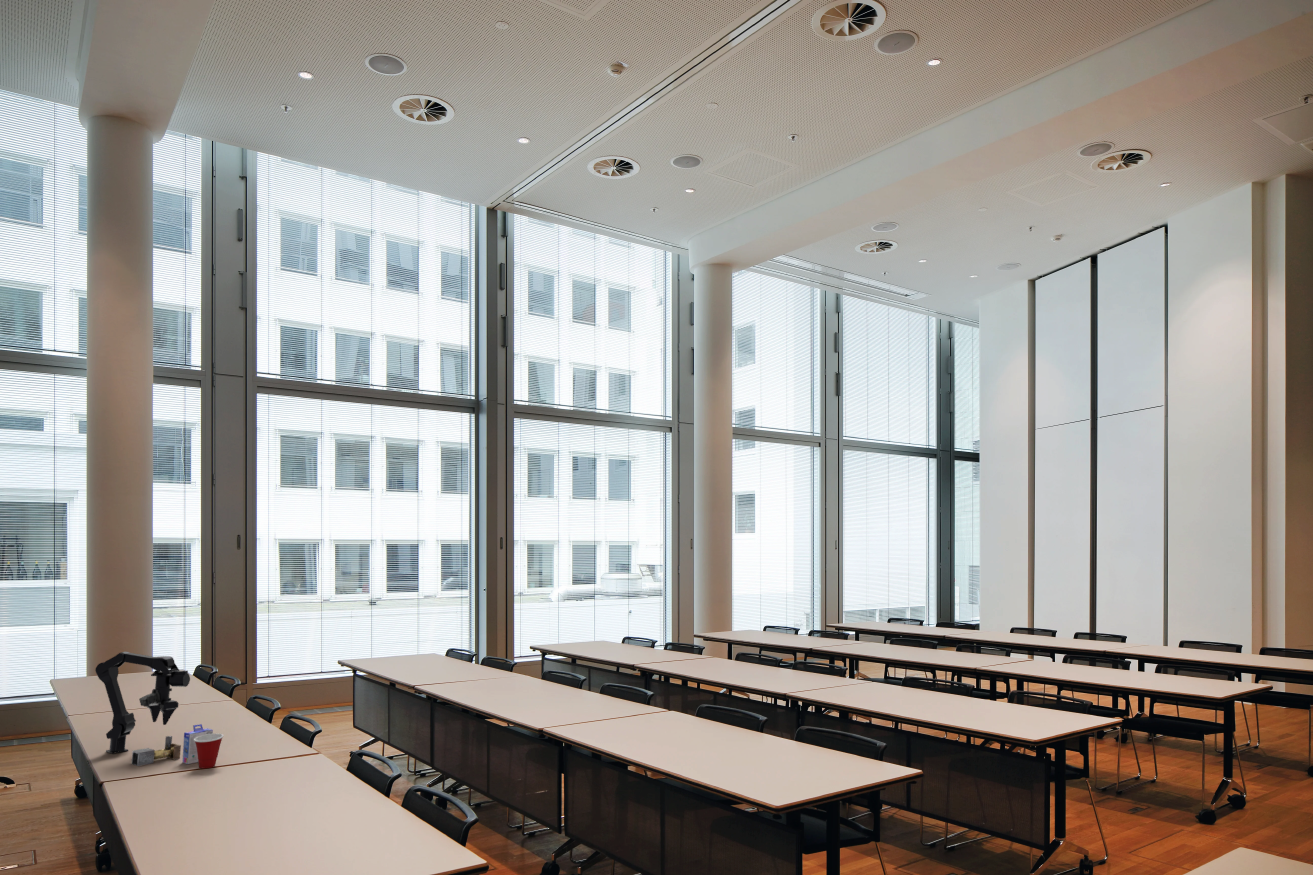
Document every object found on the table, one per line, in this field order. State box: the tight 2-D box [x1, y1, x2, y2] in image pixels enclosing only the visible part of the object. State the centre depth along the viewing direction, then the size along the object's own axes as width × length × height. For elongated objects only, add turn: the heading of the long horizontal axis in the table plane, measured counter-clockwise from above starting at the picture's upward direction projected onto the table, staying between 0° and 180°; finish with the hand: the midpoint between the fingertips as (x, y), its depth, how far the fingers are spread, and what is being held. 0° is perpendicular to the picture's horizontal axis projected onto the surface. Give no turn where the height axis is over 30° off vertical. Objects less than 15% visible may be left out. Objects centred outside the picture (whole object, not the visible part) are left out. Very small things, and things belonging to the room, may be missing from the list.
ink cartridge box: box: [182, 723, 214, 765], centre depth 350 cm, size 10×6×14 cm, turn 145°
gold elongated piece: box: [154, 735, 174, 761], centre depth 351 cm, size 10×4×8 cm, turn 145°
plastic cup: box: [194, 732, 224, 769], centre depth 342 cm, size 11×11×12 cm
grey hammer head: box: [130, 747, 156, 767], centre depth 345 cm, size 6×6×5 cm
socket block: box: [167, 742, 182, 760], centre depth 355 cm, size 2×6×5 cm, turn 55°
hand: (159, 723), depth 364 cm, fingers open, 9 cm apart
